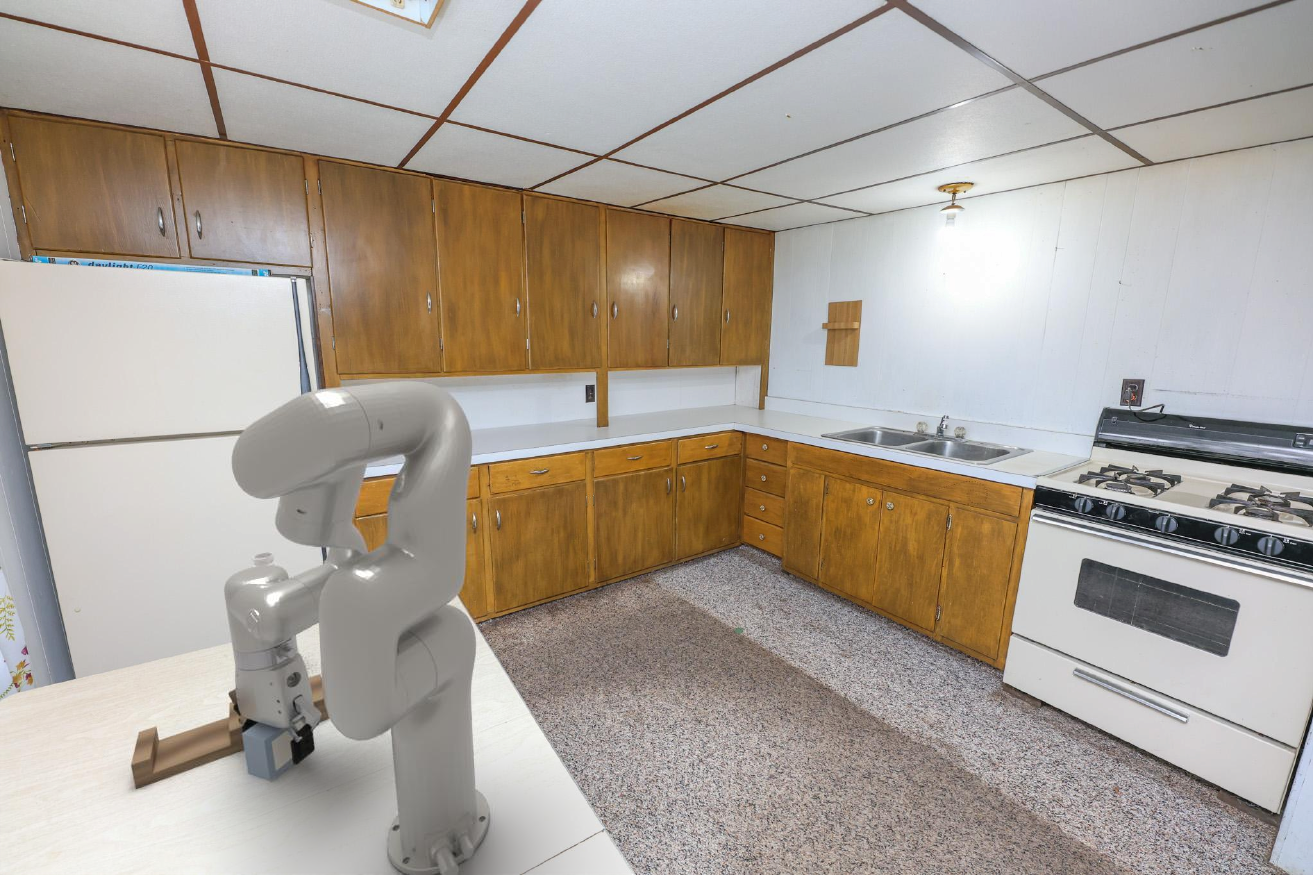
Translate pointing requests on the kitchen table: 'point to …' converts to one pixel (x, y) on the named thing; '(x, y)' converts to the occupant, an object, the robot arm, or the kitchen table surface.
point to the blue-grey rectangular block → (268, 749)
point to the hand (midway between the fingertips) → (280, 749)
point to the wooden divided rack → (196, 744)
